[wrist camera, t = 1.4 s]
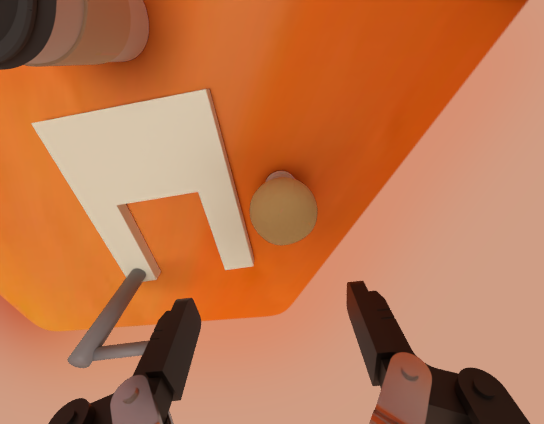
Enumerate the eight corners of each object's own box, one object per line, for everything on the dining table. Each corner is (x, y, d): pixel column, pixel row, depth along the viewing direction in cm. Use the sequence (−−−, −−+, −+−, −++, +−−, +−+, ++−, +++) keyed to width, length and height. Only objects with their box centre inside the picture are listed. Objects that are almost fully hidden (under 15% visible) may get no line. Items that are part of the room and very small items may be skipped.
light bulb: (269, 215, 31) (269, 267, 22) (244, 173, 28) (232, 214, 20) (314, 193, 30) (334, 241, 21) (293, 147, 27) (304, 180, 18)
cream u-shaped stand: (209, 88, 24) (150, 96, 12) (254, 258, 35) (246, 352, 23) (44, 121, 25) (-155, 156, 13) (135, 275, 36) (68, 372, 24)
